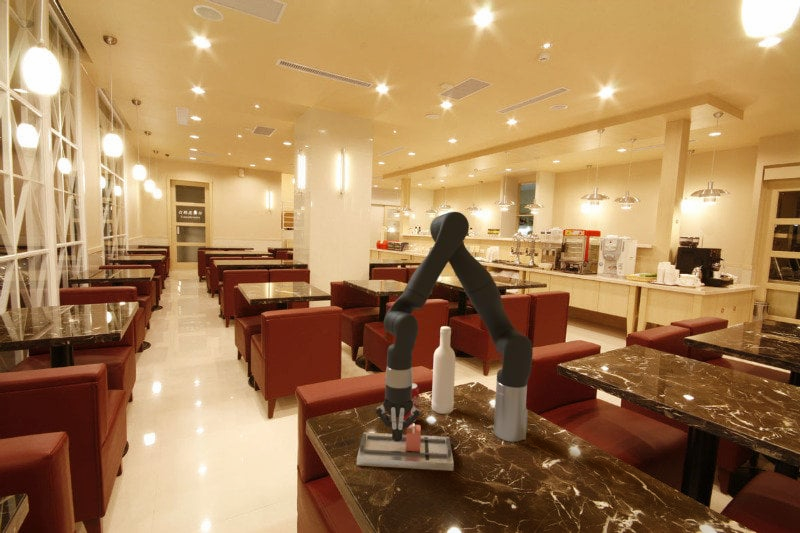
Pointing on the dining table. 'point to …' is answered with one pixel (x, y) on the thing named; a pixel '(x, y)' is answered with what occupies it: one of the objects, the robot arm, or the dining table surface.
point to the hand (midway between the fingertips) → (397, 440)
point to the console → (405, 452)
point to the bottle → (443, 374)
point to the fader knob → (413, 438)
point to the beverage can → (413, 399)
